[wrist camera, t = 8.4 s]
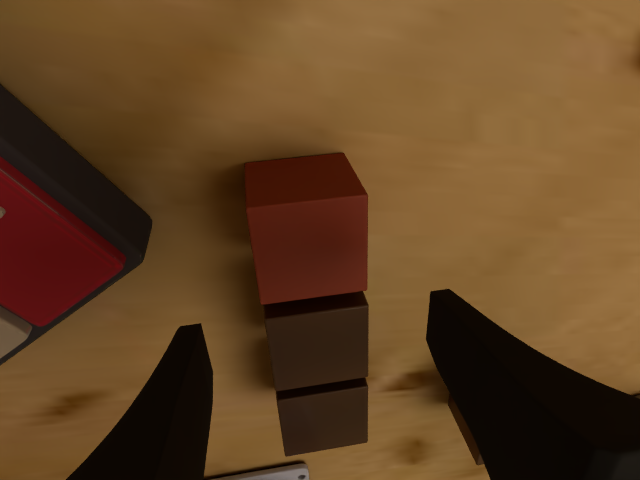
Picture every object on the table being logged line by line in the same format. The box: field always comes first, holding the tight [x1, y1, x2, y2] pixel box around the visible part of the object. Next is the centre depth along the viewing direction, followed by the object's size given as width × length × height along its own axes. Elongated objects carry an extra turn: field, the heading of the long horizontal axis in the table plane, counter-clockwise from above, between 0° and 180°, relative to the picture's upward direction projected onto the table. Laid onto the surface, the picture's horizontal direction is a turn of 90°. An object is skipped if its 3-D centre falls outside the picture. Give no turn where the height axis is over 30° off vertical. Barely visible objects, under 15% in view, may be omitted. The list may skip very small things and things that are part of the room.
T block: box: [263, 291, 369, 391], centre depth 22 cm, size 4×4×4 cm
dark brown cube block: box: [276, 377, 368, 456], centre depth 24 cm, size 4×4×4 cm
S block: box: [245, 153, 368, 305], centre depth 19 cm, size 4×4×4 cm
